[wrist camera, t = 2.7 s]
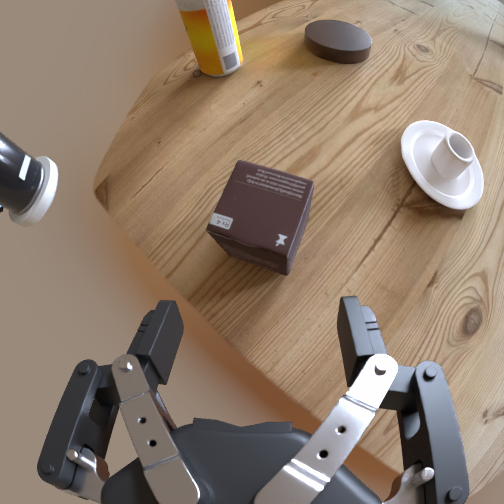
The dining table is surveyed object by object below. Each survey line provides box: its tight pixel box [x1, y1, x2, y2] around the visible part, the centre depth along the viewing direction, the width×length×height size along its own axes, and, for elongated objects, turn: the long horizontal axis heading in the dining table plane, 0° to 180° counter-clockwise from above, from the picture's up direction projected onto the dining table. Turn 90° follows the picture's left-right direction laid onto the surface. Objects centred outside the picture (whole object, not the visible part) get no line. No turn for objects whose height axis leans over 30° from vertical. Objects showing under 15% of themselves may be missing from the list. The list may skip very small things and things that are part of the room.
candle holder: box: [400, 121, 483, 210], centre depth 23 cm, size 12×12×4 cm
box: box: [206, 160, 314, 276], centre depth 22 cm, size 6×6×7 cm
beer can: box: [176, 0, 243, 77], centre depth 25 cm, size 6×6×15 cm
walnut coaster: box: [305, 20, 372, 64], centre depth 31 cm, size 10×10×2 cm
